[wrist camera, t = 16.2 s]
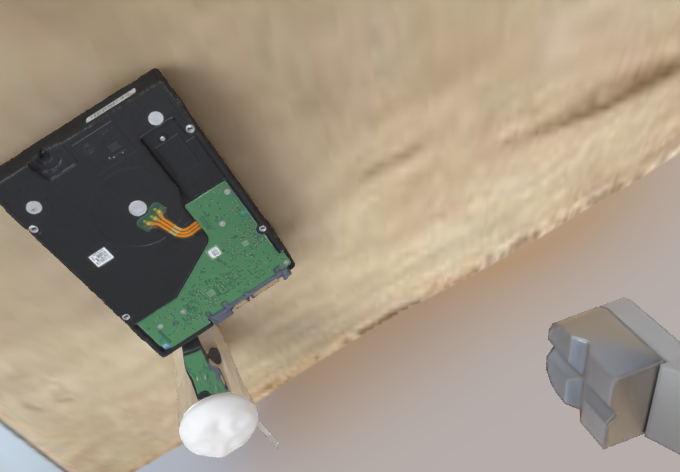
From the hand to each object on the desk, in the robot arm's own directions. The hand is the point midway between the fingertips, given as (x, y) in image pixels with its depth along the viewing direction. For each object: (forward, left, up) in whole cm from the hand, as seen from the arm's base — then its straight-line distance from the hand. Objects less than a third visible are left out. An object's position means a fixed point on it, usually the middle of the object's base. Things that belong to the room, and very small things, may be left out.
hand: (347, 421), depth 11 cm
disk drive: (+3, +10, -27) cm, 29 cm away
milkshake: (+3, +20, -27) cm, 34 cm away
